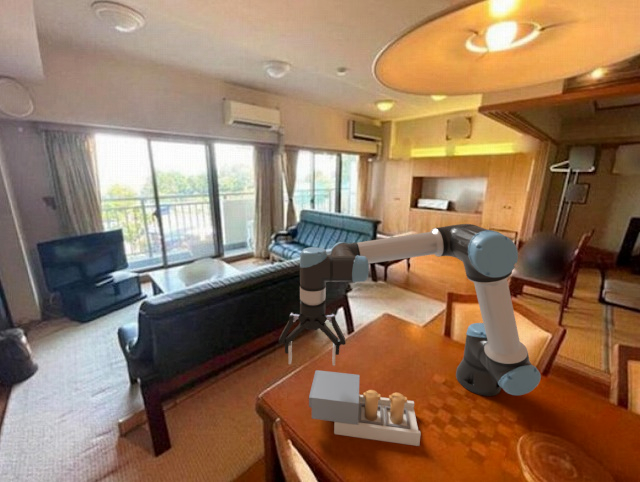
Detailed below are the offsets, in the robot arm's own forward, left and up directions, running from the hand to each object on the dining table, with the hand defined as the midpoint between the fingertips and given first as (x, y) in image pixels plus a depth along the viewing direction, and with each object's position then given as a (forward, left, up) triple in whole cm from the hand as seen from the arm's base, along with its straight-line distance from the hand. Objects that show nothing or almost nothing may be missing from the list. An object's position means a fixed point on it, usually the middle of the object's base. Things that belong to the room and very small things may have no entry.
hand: (311, 362), depth 88 cm
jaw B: (-27, 0, -18) cm, 32 cm away
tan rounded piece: (-19, 0, -18) cm, 26 cm away
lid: (-8, 0, -15) cm, 17 cm away
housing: (-20, 0, -20) cm, 29 cm away
